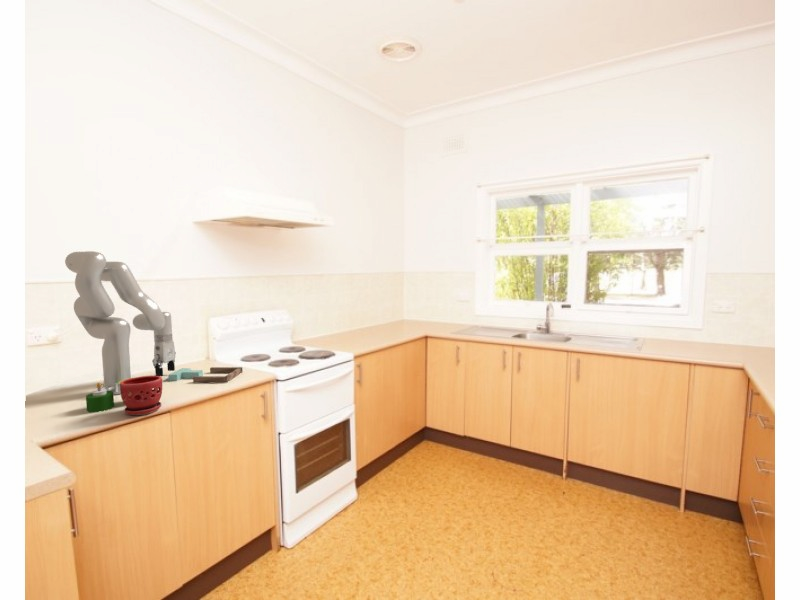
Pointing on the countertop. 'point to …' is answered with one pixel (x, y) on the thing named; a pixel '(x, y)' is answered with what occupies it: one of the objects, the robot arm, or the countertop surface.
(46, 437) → the countertop surface
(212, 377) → the walnut bay
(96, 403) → the candle
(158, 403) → the plant pot
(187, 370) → the teal T-block
